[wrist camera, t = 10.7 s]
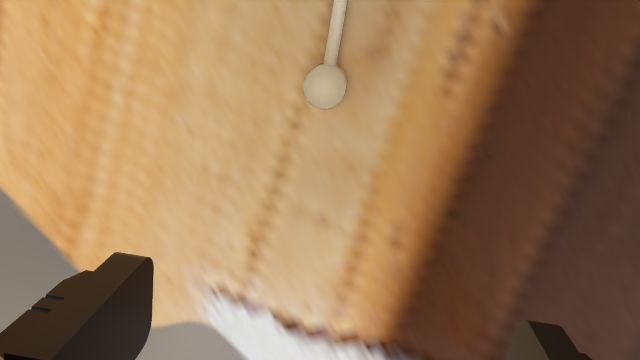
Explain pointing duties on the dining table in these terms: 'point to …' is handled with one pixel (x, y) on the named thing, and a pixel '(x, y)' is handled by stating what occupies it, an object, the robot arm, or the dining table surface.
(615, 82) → the dining table surface
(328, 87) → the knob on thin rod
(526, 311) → the dining table surface
